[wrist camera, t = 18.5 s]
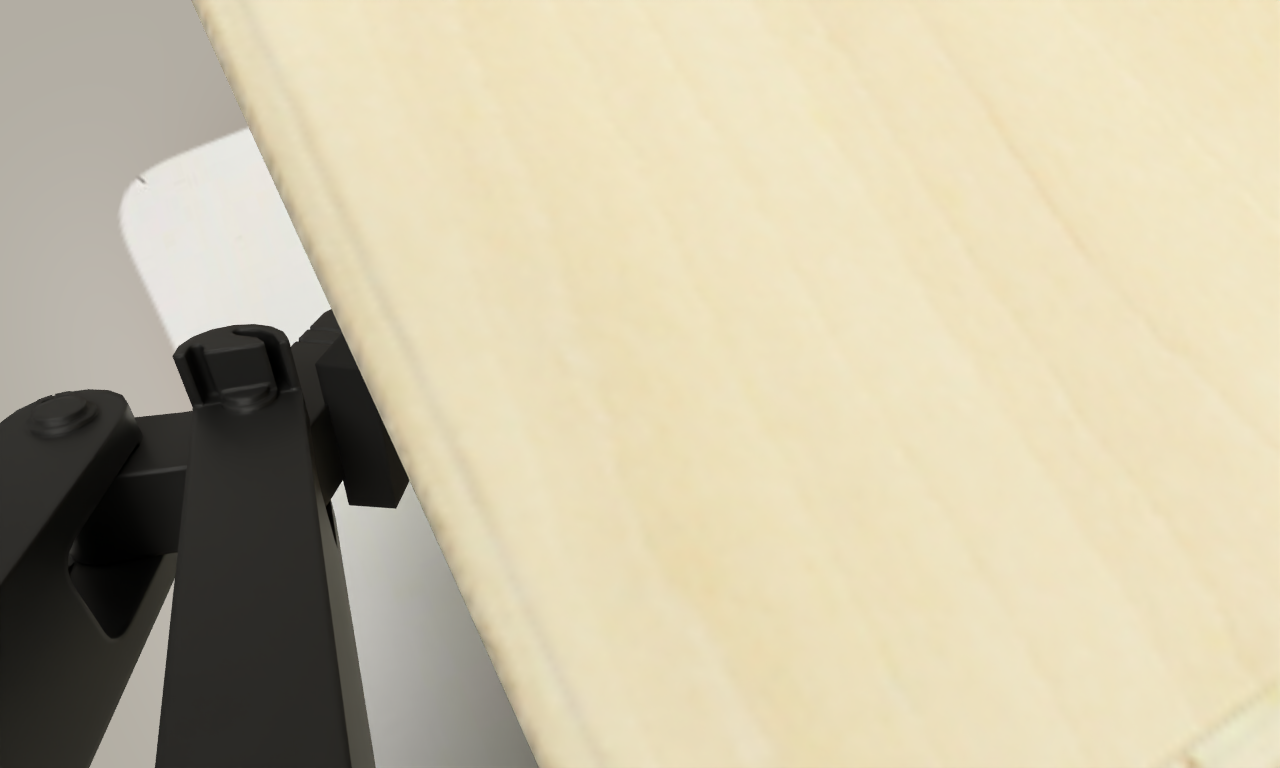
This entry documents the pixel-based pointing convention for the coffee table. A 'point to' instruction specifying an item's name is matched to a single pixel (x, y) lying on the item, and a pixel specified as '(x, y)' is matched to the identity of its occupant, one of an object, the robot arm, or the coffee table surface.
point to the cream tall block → (817, 359)
